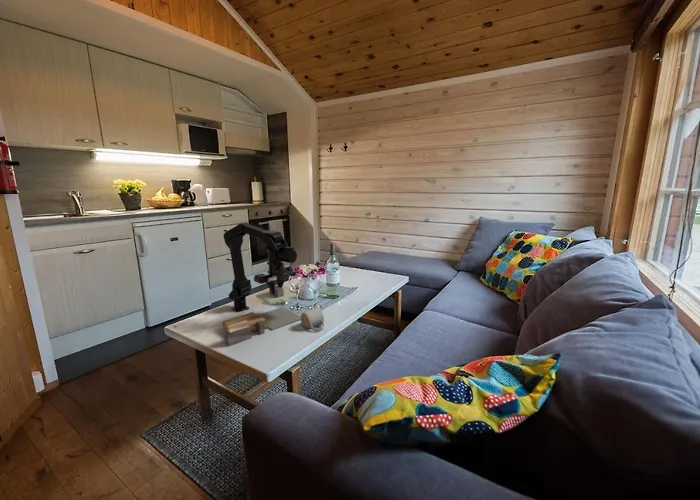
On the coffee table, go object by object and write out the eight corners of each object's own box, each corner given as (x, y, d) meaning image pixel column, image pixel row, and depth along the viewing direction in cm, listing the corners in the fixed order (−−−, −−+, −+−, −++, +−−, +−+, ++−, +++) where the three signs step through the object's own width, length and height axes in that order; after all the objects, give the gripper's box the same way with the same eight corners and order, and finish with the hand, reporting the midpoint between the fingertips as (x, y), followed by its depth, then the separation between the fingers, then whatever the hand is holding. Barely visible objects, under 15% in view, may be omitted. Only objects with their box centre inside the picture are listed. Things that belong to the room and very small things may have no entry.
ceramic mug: (299, 325, 141) (299, 309, 139) (315, 320, 146) (314, 304, 144) (313, 334, 133) (312, 317, 131) (328, 328, 138) (328, 312, 136)
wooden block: (227, 331, 124) (226, 326, 124) (246, 324, 130) (245, 320, 129) (229, 333, 123) (229, 328, 122) (249, 326, 128) (248, 321, 128)
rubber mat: (251, 318, 148) (251, 316, 148) (282, 308, 160) (282, 307, 160) (272, 330, 136) (272, 329, 136) (304, 318, 148) (304, 317, 148)
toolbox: (213, 333, 133) (212, 322, 132) (253, 320, 146) (253, 310, 145) (229, 346, 123) (228, 334, 122) (271, 330, 136) (270, 320, 135)
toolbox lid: (256, 296, 145) (255, 287, 144) (282, 289, 155) (282, 281, 154) (273, 306, 135) (273, 296, 134) (300, 297, 144) (300, 288, 144)
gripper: (265, 267, 130) (267, 303, 133) (302, 259, 143) (303, 292, 146) (252, 262, 138) (254, 296, 141) (288, 255, 151) (289, 287, 154)
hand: (276, 293), depth 146 cm, fingers closed on toolbox lid, 3 cm apart
